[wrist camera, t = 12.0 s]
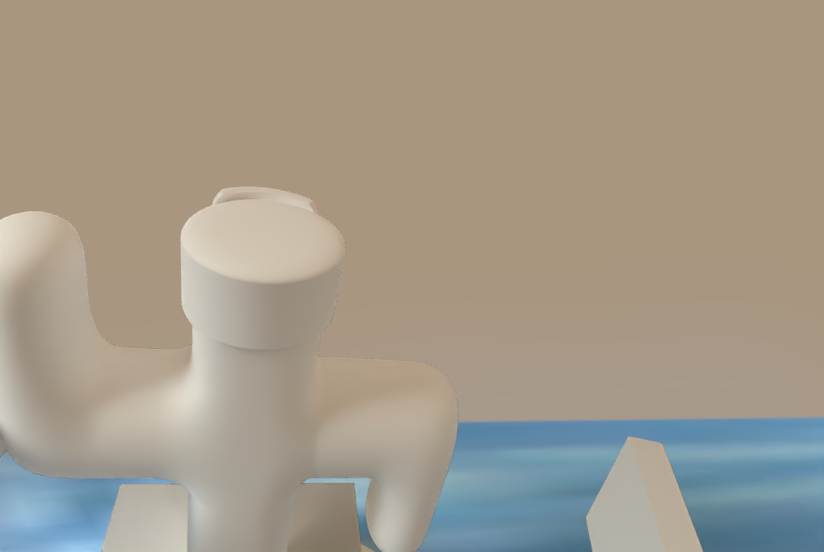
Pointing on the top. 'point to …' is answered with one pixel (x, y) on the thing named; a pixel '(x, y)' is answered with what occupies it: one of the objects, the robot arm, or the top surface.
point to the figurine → (221, 392)
